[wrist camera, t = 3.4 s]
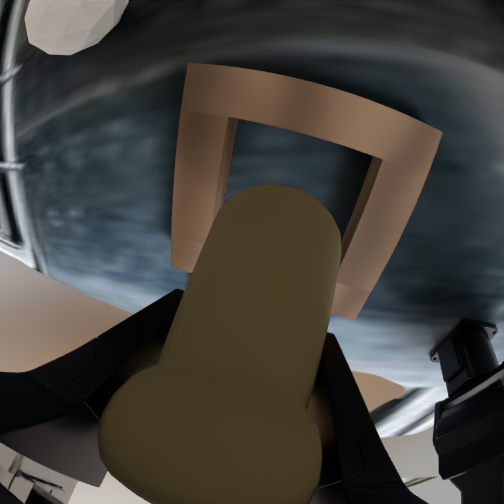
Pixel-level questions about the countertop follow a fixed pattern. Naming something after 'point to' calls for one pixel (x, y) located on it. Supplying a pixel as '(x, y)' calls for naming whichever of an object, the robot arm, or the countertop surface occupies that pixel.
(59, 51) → the ball
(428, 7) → the countertop surface
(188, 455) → the cork
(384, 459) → the robot arm
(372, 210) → the pocket frame
